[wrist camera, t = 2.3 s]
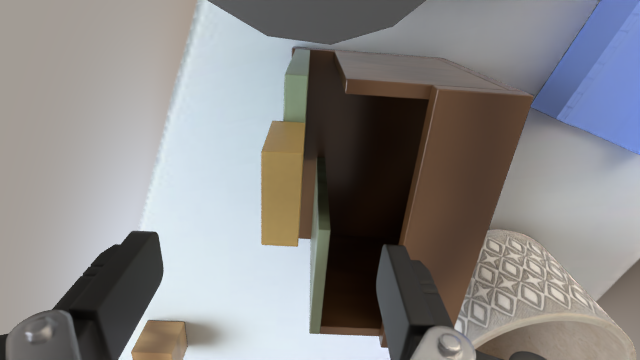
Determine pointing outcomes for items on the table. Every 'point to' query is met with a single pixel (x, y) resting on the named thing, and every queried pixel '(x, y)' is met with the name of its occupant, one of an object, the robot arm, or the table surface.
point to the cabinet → (399, 176)
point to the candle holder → (319, 17)
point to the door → (285, 159)
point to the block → (161, 341)
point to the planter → (534, 306)
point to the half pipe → (600, 77)
